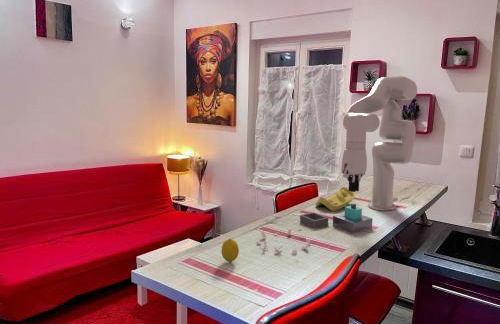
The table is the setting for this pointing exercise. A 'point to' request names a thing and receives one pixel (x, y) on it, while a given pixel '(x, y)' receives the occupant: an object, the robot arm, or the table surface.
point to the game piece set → (282, 246)
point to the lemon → (230, 250)
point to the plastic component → (337, 199)
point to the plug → (353, 212)
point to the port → (352, 223)
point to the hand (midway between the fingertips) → (353, 190)
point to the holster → (314, 220)
